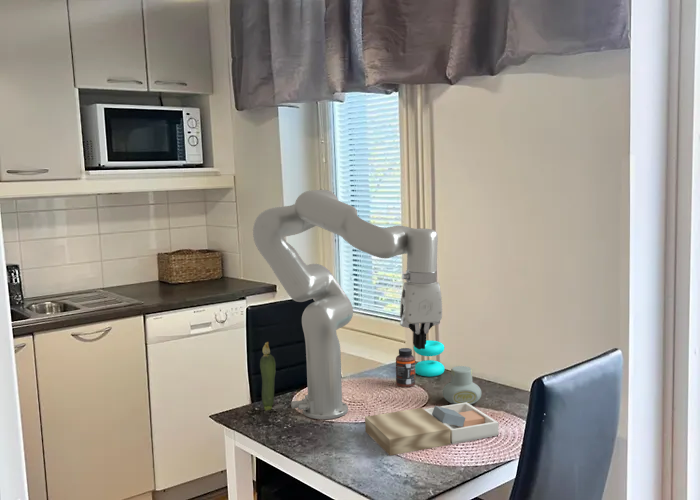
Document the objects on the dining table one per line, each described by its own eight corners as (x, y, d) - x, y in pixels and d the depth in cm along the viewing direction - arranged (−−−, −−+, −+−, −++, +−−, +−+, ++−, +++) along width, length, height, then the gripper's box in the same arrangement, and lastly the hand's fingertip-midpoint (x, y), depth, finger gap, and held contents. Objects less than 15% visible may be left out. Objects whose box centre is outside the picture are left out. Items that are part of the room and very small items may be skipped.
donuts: (450, 344, 223) (422, 348, 219) (450, 374, 224) (423, 379, 220) (434, 337, 232) (407, 341, 228) (434, 367, 233) (408, 371, 229)
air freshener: (477, 397, 202) (477, 363, 201) (484, 407, 194) (484, 372, 193) (440, 398, 202) (440, 365, 201) (445, 408, 194) (444, 373, 193)
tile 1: (442, 422, 174) (445, 413, 174) (431, 414, 179) (434, 405, 179) (462, 427, 176) (465, 417, 176) (451, 419, 181) (454, 410, 181)
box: (452, 444, 169) (452, 430, 169) (423, 422, 184) (423, 409, 184) (498, 435, 174) (498, 422, 173) (466, 414, 189) (466, 402, 188)
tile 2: (484, 418, 178) (484, 427, 178) (473, 410, 183) (473, 419, 184) (463, 421, 176) (463, 430, 176) (452, 413, 181) (452, 422, 182)
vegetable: (262, 407, 199) (259, 339, 196) (277, 406, 199) (274, 338, 197) (261, 413, 194) (258, 343, 192) (277, 412, 195) (274, 342, 192)
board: (389, 455, 164) (389, 439, 163) (365, 431, 179) (365, 416, 178) (450, 444, 169) (450, 428, 169) (421, 422, 184) (421, 407, 184)
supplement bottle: (414, 388, 212) (413, 352, 210) (394, 387, 213) (394, 351, 211) (416, 382, 217) (415, 347, 216) (397, 381, 219) (396, 346, 217)
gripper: (400, 281, 170) (398, 354, 173) (454, 278, 175) (452, 349, 178) (388, 276, 177) (387, 346, 180) (441, 273, 182) (439, 341, 185)
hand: (419, 347), depth 179 cm, fingers closed
